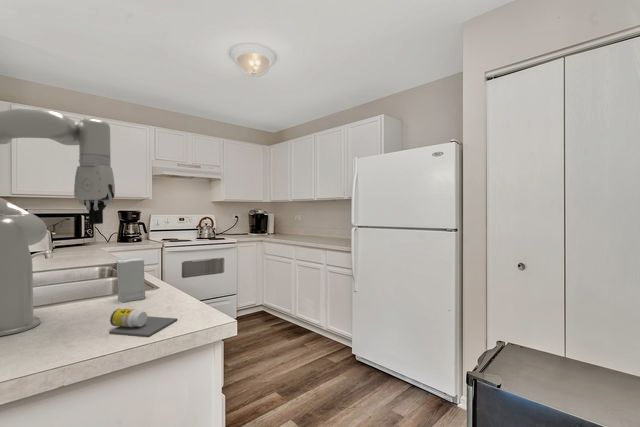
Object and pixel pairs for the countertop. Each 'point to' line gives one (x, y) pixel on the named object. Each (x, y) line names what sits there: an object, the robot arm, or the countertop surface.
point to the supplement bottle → (128, 318)
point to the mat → (145, 327)
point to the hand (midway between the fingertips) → (96, 223)
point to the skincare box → (130, 279)
